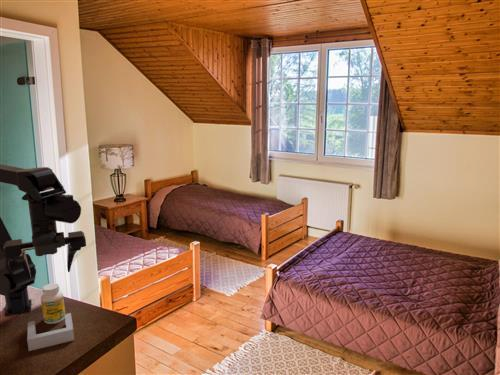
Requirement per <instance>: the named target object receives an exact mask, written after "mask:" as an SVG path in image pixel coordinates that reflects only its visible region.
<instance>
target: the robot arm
mask: <svg viewBox="0 0 500 375" xmlns="http://www.w3.org/2000/svg"><path fill="white" fill-rule="evenodd" d="M0 183H3V184H8V185H13V186H15V187H17V189H18V190H19V191H21V192H23V193H25V194H24V195H23V196H21V200H22V201H26V202H27V201H28V202H27V203H28V204H27V205H28V210H29V212H28V213H29V219H30V228H31V234H32V235H31V241H29V242H23V239H22V238H19V239H12V237H11V235H10V233H9V230H8V228H7V227H6V224H5V223H4V220H3V218H2V217H1V216H0V296H4V302H5V307H4V315H3V316H5V317H7V316H12V315H17V314H22V313H26V312H27V313H28V312H31V311H32V299H29V298H30V297H29V291H28V287H30V286H31V285H34V284H35V283H36V281H35V280H36V274H37V269H36V265H35V263H34V262H33V260H32V257H31V255H30V254H29V253H26V251H31V250H34V252H35V256H36V257H43V256H47V255H56V254H57V253H58V248H59V249H61V248H62V247H66V245H67V250H66V251H67V255H66V261H67V262H66V263H67V264H66V266H67V272H68V273H70V272H71V268H72V264H73V260H74V257H75V256H76V253H77V252H78V251H81V249H82V248H85V247H87V241H86V236H85V232H83V231H82V230H79V231H78V230H77V231H70V232H67V236H65V233H64V231H62V232H61V231H60V232H58V230H57V229H58V228H57V227H58V226H57V222H60V223H66V224H75V223H76V222H77V221H78V220H79V218H80V216H81V214H82V213H81V212H82V207H81V205H80V203H79V202H78V201H77V200H75V199H74V195H73V194H66V193H67V191H66V189H65V187H64V185H62V183H61V182H60V180H59V178H58V177H57V175H56V173H54V171H53V169H52V168H50V167H48V166H43V167H32V168H23V167H16V166H11V165H8V164H7V165H6V164H1V163H0Z"/></svg>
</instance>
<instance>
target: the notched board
mask: <svg viewBox="0 0 500 375" xmlns="http://www.w3.org/2000/svg"><path fill="white" fill-rule="evenodd" d="M72 319H73V318H72V313H71V312H69V313H68V312H67V313H65V318H64V321H65V327H63V328H59V329H54V330H50V331H46V332H42V333H37V330H36V329H37V328H36V322H35V320H32V321H28V322H27V335H26V336H27V338H26V341H27V342H26V343H27V346H28V347H27V348H28V352H31V351H35V350H40V349H43V348H48V347H52V346H56V345H59V344H64V343H69V342H72V341H75V334H74V327H73V326H74V325H73V320H72Z"/></svg>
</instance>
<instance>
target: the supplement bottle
mask: <svg viewBox="0 0 500 375" xmlns="http://www.w3.org/2000/svg"><path fill="white" fill-rule="evenodd" d="M41 290H42V294H41V296H40V301H41V302H40V303H41V309H42V316H43V321H44V323H46V324H48V325H53V324H58V323H61V322H62V321H64V320H65V314H66V308H65V301H64V300H65V299H64V293H63V292H62V290H60V284H59V283H56V282H51V283H47V284H46V285H43V286H42V289H41Z"/></svg>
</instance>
